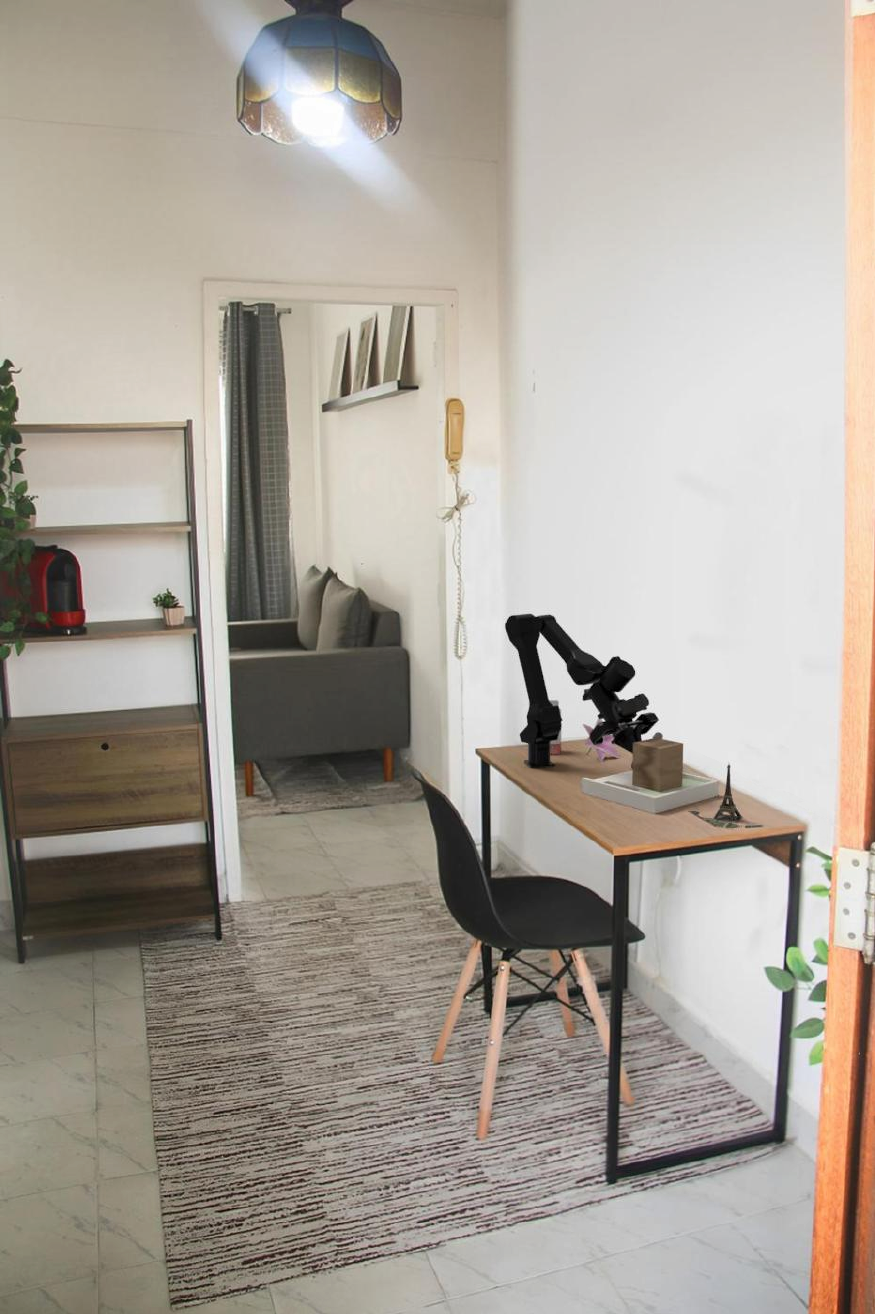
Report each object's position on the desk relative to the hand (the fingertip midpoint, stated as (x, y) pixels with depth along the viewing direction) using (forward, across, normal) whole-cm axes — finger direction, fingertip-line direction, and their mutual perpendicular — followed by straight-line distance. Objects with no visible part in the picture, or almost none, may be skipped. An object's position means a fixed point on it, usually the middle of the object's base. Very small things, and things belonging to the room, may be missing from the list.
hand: (643, 757), depth 255 cm
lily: (-15, +17, +27) cm, 35 cm away
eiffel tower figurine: (+24, -2, -11) cm, 27 cm away
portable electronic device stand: (-4, +19, +17) cm, 26 cm away
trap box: (+7, 0, +4) cm, 9 cm away
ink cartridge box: (-25, +11, +37) cm, 46 cm away
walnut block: (+7, 0, +1) cm, 7 cm away
